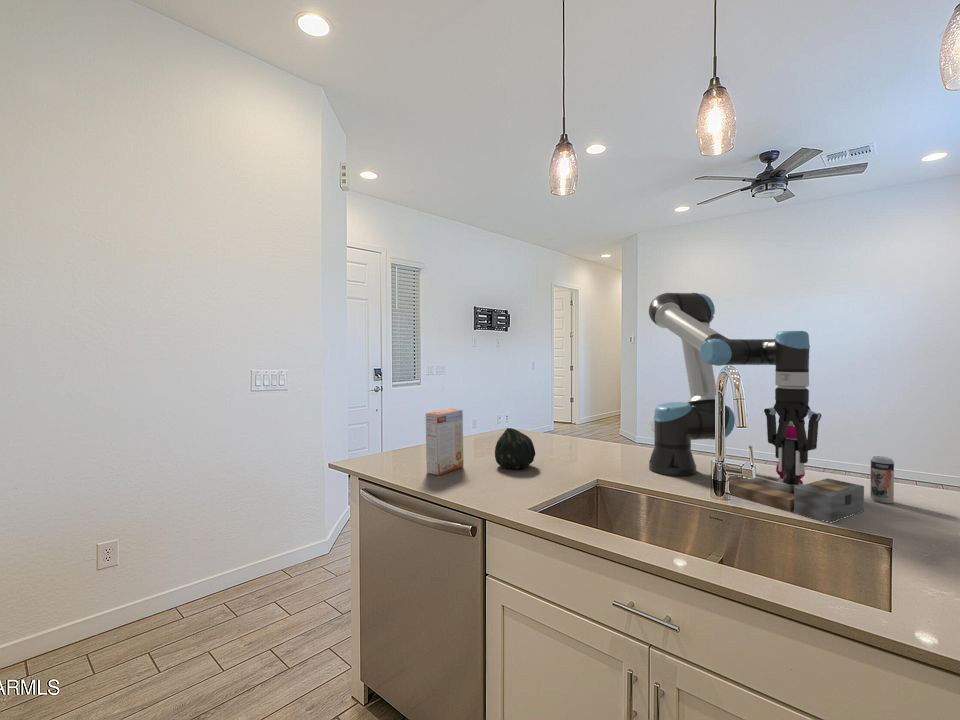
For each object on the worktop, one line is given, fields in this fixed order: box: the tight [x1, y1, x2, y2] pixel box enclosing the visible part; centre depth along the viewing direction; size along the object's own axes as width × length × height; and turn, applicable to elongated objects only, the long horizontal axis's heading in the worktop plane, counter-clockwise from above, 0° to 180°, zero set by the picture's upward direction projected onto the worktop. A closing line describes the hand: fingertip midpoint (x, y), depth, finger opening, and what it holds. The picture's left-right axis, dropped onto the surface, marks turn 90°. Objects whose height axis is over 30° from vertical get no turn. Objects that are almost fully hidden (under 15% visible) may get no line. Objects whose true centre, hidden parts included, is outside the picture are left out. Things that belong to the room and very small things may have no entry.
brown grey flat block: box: [728, 472, 865, 522], centre depth 121 cm, size 27×17×7 cm, turn 28°
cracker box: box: [425, 408, 464, 476], centre depth 154 cm, size 14×6×21 cm, turn 144°
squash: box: [494, 427, 536, 470], centre depth 158 cm, size 14×15×15 cm
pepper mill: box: [775, 421, 806, 485], centre depth 135 cm, size 7×7×20 cm
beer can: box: [869, 455, 895, 505], centre depth 120 cm, size 5×5×12 cm
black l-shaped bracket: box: [777, 438, 804, 492], centre depth 118 cm, size 12×4×14 cm, turn 28°
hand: (791, 472), depth 120 cm, fingers closed on black l-shaped bracket, 4 cm apart
